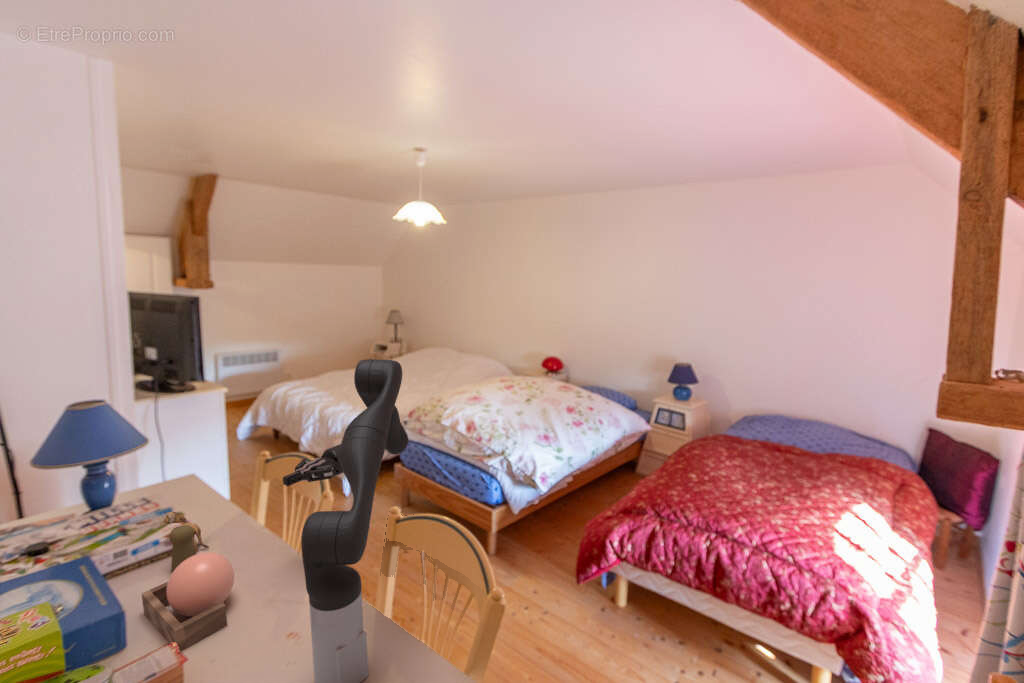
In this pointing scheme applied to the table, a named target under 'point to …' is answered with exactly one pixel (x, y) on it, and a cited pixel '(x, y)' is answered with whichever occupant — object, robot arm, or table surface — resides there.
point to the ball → (200, 583)
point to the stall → (187, 630)
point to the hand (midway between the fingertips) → (284, 481)
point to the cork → (181, 545)
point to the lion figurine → (178, 518)
